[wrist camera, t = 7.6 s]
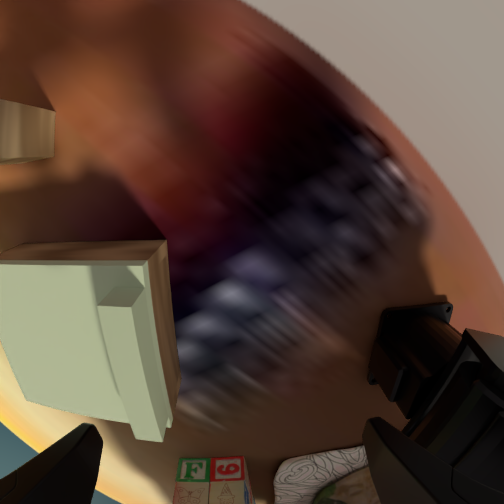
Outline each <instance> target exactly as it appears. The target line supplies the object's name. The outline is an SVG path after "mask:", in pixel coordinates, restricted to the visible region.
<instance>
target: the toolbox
mask: <svg viewBox="0 0 504 504" xmlns="http://www.w3.org/2000/svg"><path fill="white" fill-rule="evenodd" d="M0 260H148V271H149V280H150V289H151V298H152V306H153V313H154V320H155V327H156V334H157V340H158V346H159V352H160V358H161V363H162V369H163V374H164V379H165V384H166V389H167V394H168V399H169V403H170V408H171V412H172V416H174V412H175V407H176V402H177V397H178V393H179V388H180V384H181V379H182V378H181V371H180V365H179V358H178V351H177V343H176V335H175V327H174V319H173V310H172V300H171V290H170V279H169V266H168V253H167V240H125V241H81V242H45V243H23V244H21V245H18V246H16V247H14V248H12V249H9V250H7V251H5V252H3V253H1V254H0Z"/></svg>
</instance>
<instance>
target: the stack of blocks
mask: <svg viewBox="0 0 504 504" xmlns="http://www.w3.org/2000/svg"><path fill="white" fill-rule="evenodd" d="M175 482H176V486H175V492H174V498H173V504H255V500H254V497H253V493H252V490H251V483H250V479H249V475H248V470H247V466H246V462H245V457H244V456H236V457H220V458H179V463H178V468H177V473H176V479H175Z"/></svg>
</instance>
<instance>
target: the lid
mask: <svg viewBox="0 0 504 504" xmlns="http://www.w3.org/2000/svg"><path fill="white" fill-rule="evenodd" d="M0 340H1V343H2V346H3V348H4V351H5V354H6V356H7V359H8V361H9V364H10V366H11V368H12V371H13V373H14V375H15V378H16V380H17V382H18V384H19V386H20V389H21V391H22V393H23V395H24V397H25V399H26V401H30V402H33V403H36V404H40V405H43V406H47V407H51V408H54V409H58V410H62V411H66V412H71V413H75V414H79V415H84V416H89V417H94V418H99V419H105V420H111V421H117V422H124V423H130V425H131V428H132V430H133V433H134V436H135V438H136V439H139V440H147V441H156V442H163V439H164V435H165V430H166V427H168V428H171V426H172V421H173V416H172V412H171V408H170V403H169V399H168V394H167V389H166V384H165V379H164V374H163V369H162V363H161V358H160V352H159V346H158V340H157V334H156V327H155V320H154V313H153V306H152V298H151V289H150V280H149V271H148V260H0Z"/></svg>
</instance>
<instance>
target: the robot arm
mask: <svg viewBox="0 0 504 504" xmlns="http://www.w3.org/2000/svg"><path fill="white" fill-rule="evenodd" d="M446 309H447V310H446ZM452 310H453V305H452V304H451V303H450V302H440V303H432V304H423V305H414V306H404V307H394V308H387V309H385V310H384V311H383V312H382V315H381V319H380V324H379V329H378V334H377V338H376V339H375V341H374V346H373V350H372V354H371V358H370V363H369V372H368V376H367V381H368V382H369V384H370V385H375V384H379V385H380V387H381V389H382V390H383V392H384V393H385V395H386V397H387V398H388V400H389V401H390V402H396V404H397V405H398V407H399V408H400V410H401V412H402V413H403V415H404V416H405V418H406V419H410V421H409V422H408V423H407V425H406V426H405V427H404V429H403V430H402V431H401V432H400V431H399V430H397V429H396V428H395V427H393V426H392V425H390V424H389V423H388V422H386V421H385V420H384V419H382V418H381V417H374V418H370V419H368V420H367V421H366V424H365V428H364V431H363V436H362V438H363V444H364V448H365V452H366V457H367V461H368V466H369V470H370V474H371V478H372V481H373V484H374V486H375V489H376V492H377V495H378V497H379V500H380V503H381V504H504V337H502V336H499V335H494V334H490V333H485V332H481V331H476V330H472V329H467V328H465V330H464V332H463V334H461V333H459V332H458V331H457V330H456V329H455V328H454V327H452V326H451V325H450V324H449V321H450V318H451V314H452ZM389 314H391V315H390V316H389V317H388V318H387V316H388V315H389ZM373 378H374V379H373ZM102 448H103V440H102V437H101V436H100V434H99V432H98V430H97V428H96V426H95V425H93V424H89V423H82V424H81V425H79V426H78V427H77V428H75V429H74V430H72V431H71V432H70V433H68V434H67V435H65V436H64V437H62V438H61V439H60V440H58V441H57V442H55V443H54V444H53V445H51V446H50V447H48V448H47V449H45V450H44V451H43V452H41V453H40V454H38V455H37V456H35V457H34V458H32V459H31V460H29V461H28V462H26V463H25V464H24V465H22V466H21V467H19V468H18V469H17V470H15V471H13V472H11V473H10V474H8V475H7V476H5V477H4V478H2V479H0V504H91V500H92V497H93V493H94V489H95V486H96V482H97V478H98V472H99V466H100V460H101V454H102Z"/></svg>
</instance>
